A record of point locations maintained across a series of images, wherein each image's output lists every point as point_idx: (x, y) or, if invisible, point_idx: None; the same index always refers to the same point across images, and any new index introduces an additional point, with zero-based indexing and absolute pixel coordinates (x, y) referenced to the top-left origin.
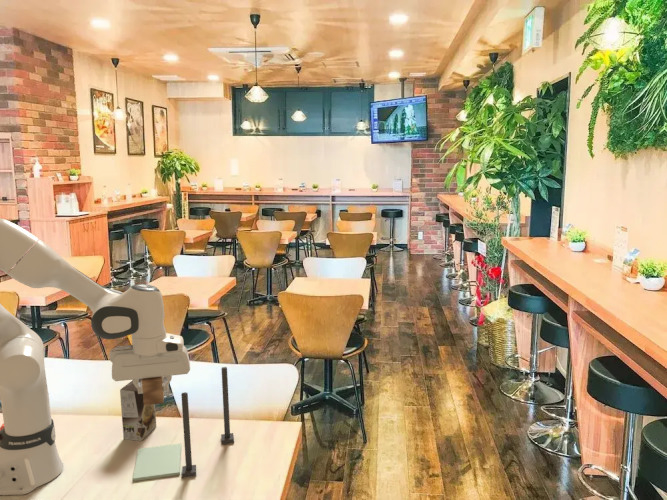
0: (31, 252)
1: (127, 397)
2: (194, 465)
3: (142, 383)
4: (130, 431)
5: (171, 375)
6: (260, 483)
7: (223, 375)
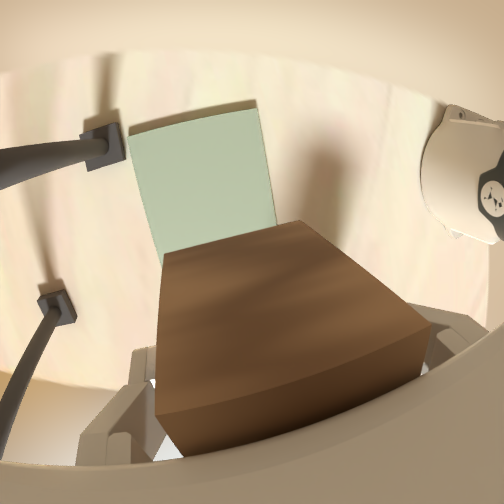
0: None
1: None
2: (90, 167)
3: (406, 309)
4: None
5: (54, 465)
6: None
7: None
